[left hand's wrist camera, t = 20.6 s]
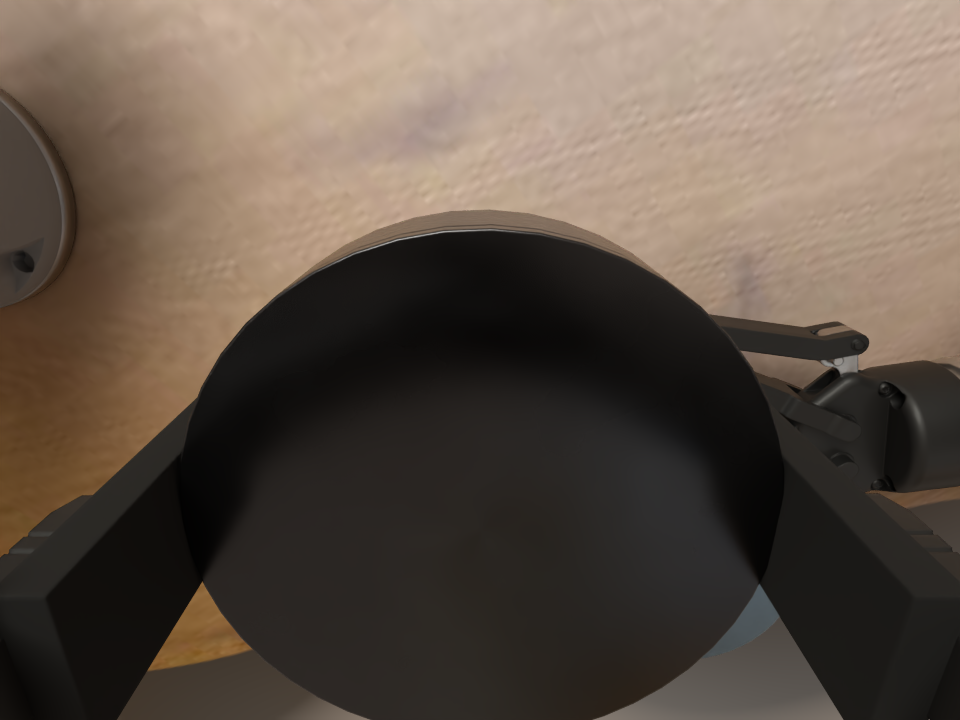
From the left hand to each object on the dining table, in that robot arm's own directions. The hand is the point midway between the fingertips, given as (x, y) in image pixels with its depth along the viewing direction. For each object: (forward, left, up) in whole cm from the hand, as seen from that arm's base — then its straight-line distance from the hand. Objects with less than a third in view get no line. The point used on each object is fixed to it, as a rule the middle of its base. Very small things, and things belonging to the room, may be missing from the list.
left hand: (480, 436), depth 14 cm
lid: (0, 0, +3) cm, 3 cm away
